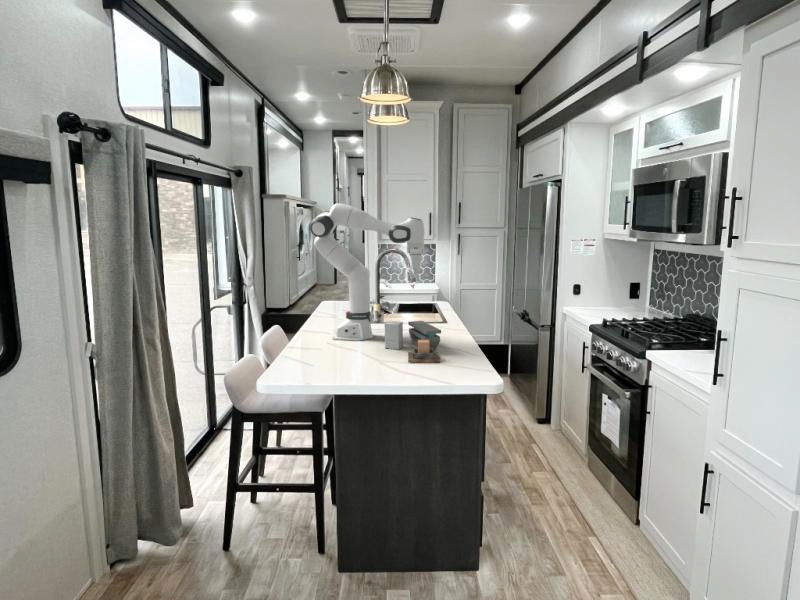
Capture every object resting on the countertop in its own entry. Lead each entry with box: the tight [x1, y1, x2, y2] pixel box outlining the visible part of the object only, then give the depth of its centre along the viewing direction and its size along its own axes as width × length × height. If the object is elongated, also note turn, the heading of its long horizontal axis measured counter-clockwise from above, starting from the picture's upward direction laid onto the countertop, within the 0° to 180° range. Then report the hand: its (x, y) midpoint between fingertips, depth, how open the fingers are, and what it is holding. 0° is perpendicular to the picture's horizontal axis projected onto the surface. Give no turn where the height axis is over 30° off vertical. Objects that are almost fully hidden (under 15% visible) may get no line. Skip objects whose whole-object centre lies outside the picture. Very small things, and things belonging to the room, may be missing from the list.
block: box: [418, 340, 429, 353], centre depth 226 cm, size 5×5×7 cm
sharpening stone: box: [407, 320, 442, 350], centre depth 247 cm, size 25×8×11 cm, turn 18°
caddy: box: [407, 347, 441, 364], centre depth 226 cm, size 14×14×4 cm
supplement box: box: [384, 320, 404, 350], centre depth 246 cm, size 7×7×13 cm
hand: (415, 276), depth 255 cm, fingers open, 8 cm apart
